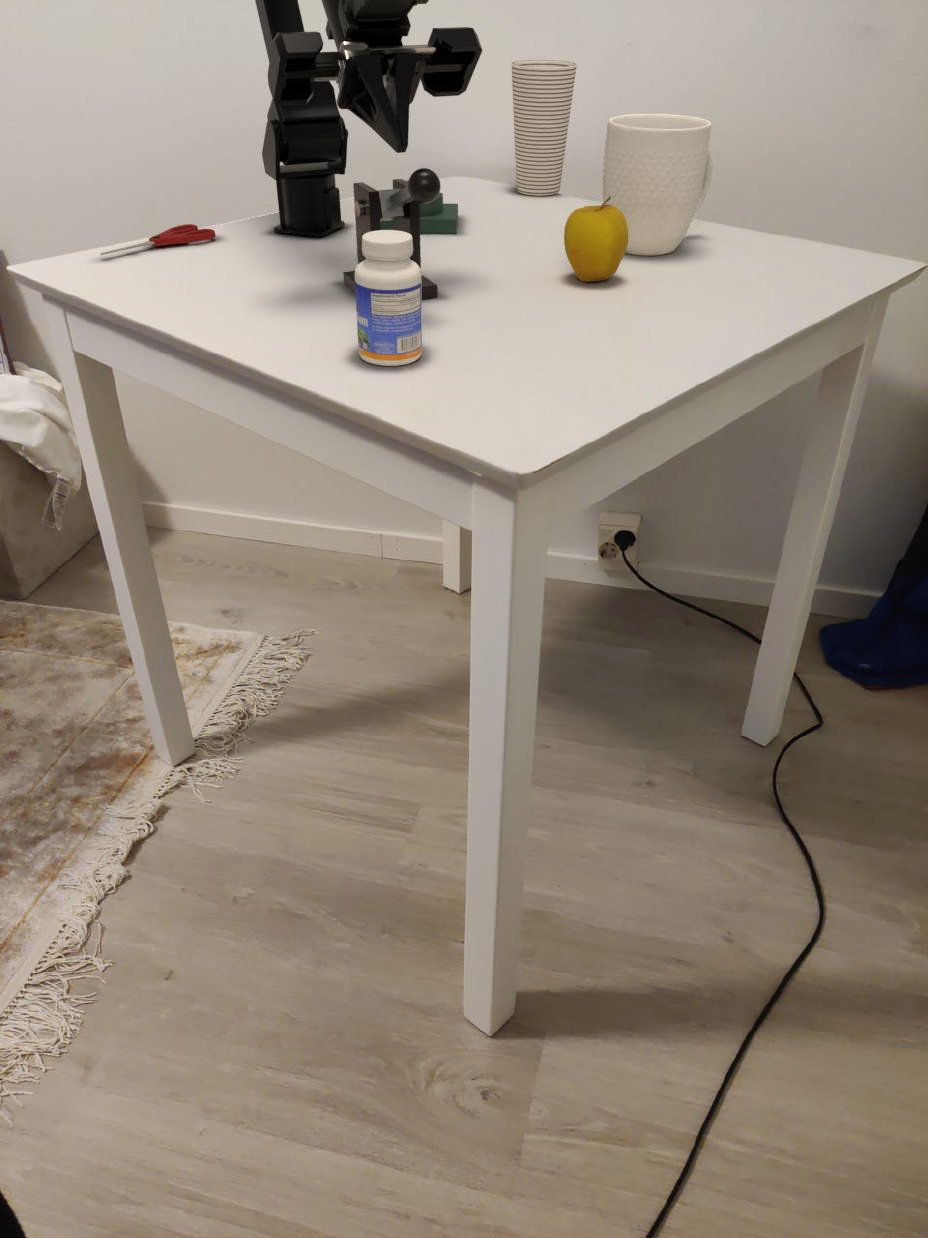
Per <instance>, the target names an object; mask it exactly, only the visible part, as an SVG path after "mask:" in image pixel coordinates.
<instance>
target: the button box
mask: <svg viewBox="0 0 928 1238" xmlns="http://www.w3.org/2000/svg"><path fill="white" fill-rule="evenodd" d="M419 207H420V234H436V235H437V234H442V235H443V234H445V235H446V234H447V235H455V234H457V229H458V221H459V203H444V194H443V192H441V191H440V192H439V195H438V197H437V198H436V199H435V200H434V201H433V202H431V203H428V204H421V203H419ZM380 229H381V230H394V220H390V221H380Z"/></svg>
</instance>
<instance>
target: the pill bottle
mask: <svg viewBox="0 0 928 1238" xmlns="http://www.w3.org/2000/svg"><path fill="white" fill-rule="evenodd" d="M362 252H363V255H364V256H365V257H366V259H365V260H364V261H362V262H361V263H360V264H358V263H357V265H356V267H355V270H354V271H355V292H356V293H355V292H354V293H355V310H356V326H357V327H356V329H357V346H358V354H359V356H360V358H361V360H363V361H365V362H366V363H369V364H372V365H376V366H385V367H395V366H397V367H399V366H404V365H409V364H412V363H413V362H416V361H417V360H418V359H419V358H420V357H421V356H422V354H423V323H422V321H423V318H422V316H423V315H422V313H423V309H422V308H423V307H422V305H423V303H422V301H423V299H422V279H421V274H422V268H421V269H420V267H419V266H418V264H416V263H415V262H414V261H412V260H410V256H411V255H412V254H413V239H412V235H411V234H409V233H407V232H403V231H397V230H378V231H371V232H368V233H365V234H364V235H363V236H362Z"/></svg>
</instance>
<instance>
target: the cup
mask: <svg viewBox="0 0 928 1238" xmlns="http://www.w3.org/2000/svg"><path fill="white" fill-rule="evenodd" d="M577 66H578V65H577V63H576V62H572V61H567V60H566V61H565V60H556V59H555V60H554V59H553V60H552V59H551V60H550V59H527V60H526V59H525V60H518V61H517V60H516V61H513V62H511V84H512V86H511V87H512V108H513V109H512V111H513V135H514V136H513V137H514V157H515V158H514V163H515V183H516V186H515V187H516V192H517V193H520V194H521V195H522V194H523V195H526V196H536V197H544V196H545V197H546V196H552V195H556V194H558V193H559V192H560V189H561V183H562V175H563V169H564V168H563V167H564V160H565V154H566V145H567V139H568V132H569V131H568V130H569V126H570V125H569V123H570V118H571V117H570V116H571V109H572V103H573V102H572V101H573V94H574V87H575V81H576V74H577Z"/></svg>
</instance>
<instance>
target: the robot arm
mask: <svg viewBox="0 0 928 1238" xmlns="http://www.w3.org/2000/svg"><path fill="white" fill-rule="evenodd" d="M254 1H255V6H256V10H257V14H258V19H259V24H260V28H261V33H262V38H263V41H264V46H265V50H266V54H267V60H268V67H267V68H268V69H267V83H268V88H269V91H270V95H271V101H270V104H269V108H268V110H267V115H266V119H267V122H266V125H265V132H264V133H265V134H264V137H263V145H262V151H261V157H262V163H263V167H264V173H265V174H266V175H267V176H269V177H270V178H271V179H272V180H274V181H275V185H276V187H275V188H276V194H277V195H276V196H277V205H278V206H277V207H278V215H279V224H278V225H276V226H274V227H273V232H274V233H280V234H289V235H299V236H308V237H317V238H321V237H324V236H326V235H328V234H331V233H333V232H334V231H337V230H338V229H341V228H342V227H344V226H345V225H346V224H345V220H342V211H341V196H340V189H339V187H337V186H336V175H340V176H343V175H346V168H347V158H348V157H347V156H348V138H349V130H348V128H347V127H346V123H345V120H344V118H343V117H342V116H341V114H340V113H341V112H340V110H348V111H350V112H351V113H352V114H353V115H354V116H356V117H357V118H359V119H360V120H361V121H362V122H363V123H365V124H366V125H367V126H368V127H369V128H370V129H372V131H374V133H376V134H377V135H378V136H379V137H380V138H381V139H382V140H383V141H384V142H385V143H386V144H387V145H388V146H389V147H390V148H391V149H392V150H393V151H394V152H395V153H397V154H400V153H406V152H407V149H408V146H409V130H410V129H409V127H410V105H411V104H412V103H413V102H414V100H415V98H416V94H417V91H418V88H419V86H420V82H421V85H422V89H423V91H425V93H427V94H429V95H430V96H432V97H433V98H437V97H439V98H443V97H459V96H461V95H462V94H464V93H465V92H466V91H467V89H468V87H469V85H470V82H471V80H472V77H473V74H474V72H475V70H476V67H477V65H478V63H479V60H480V58H481V56H482V53H483V48H482V45H481V42H480V39H479V36H478V33H477V32H476V30H475V29H474V27H469V26H457V27H455V26H454V27H452V26H451V27H432V30H431V32H430V36H429V39H428V41H427V44H406V45H404V44H403V41H402V39H403V37H408V36H409V33H410V30H411V26H412V25H411V22H410V19H409V14H410V12H411V11H412V9H413V8H414V7H415V6H417V5H426V4H428V3H429V1H430V0H321V4H322V7H323V9H324V14H325V16H326V19H327V21H326V26H325V33H326V36H327V39H328V41H329V40H331V41H332V40H333V41H334V45H335V48H336V50H337V51H322V50H323V48H324V41H323V38H322V34H321V32H319V31H305V26H304V21H303V18H302V13H301V9H300V4H299V0H254ZM332 81H333V82H335V84H336V85H337V87H338V95H337V99H336V92H335V87H334V86H333V84H332ZM339 109H340V110H339ZM281 163H282V165H281Z"/></svg>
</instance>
